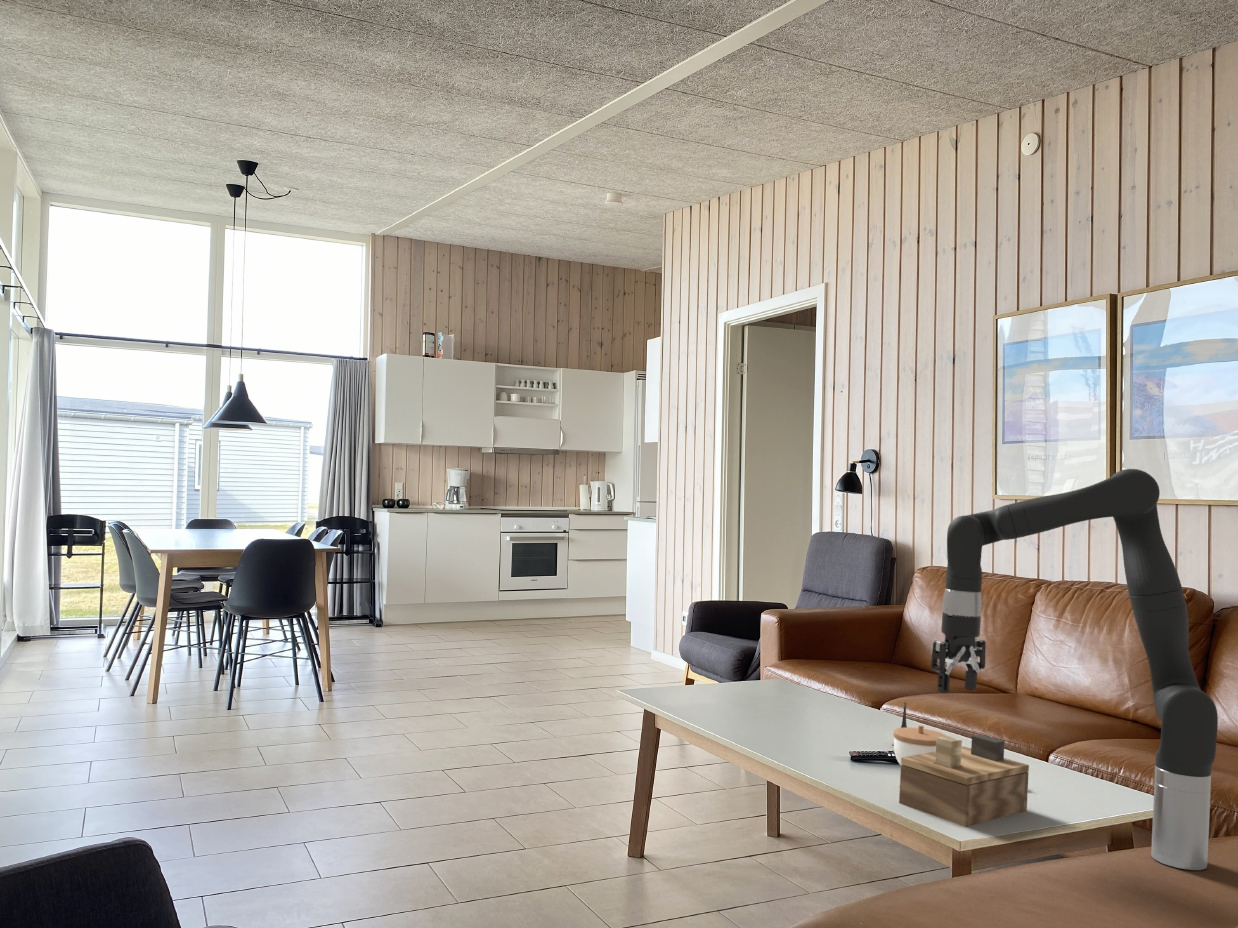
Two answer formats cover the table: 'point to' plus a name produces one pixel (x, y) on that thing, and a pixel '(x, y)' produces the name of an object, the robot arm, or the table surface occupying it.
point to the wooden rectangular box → (963, 796)
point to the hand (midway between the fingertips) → (956, 690)
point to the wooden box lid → (971, 762)
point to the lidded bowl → (914, 741)
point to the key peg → (948, 752)
